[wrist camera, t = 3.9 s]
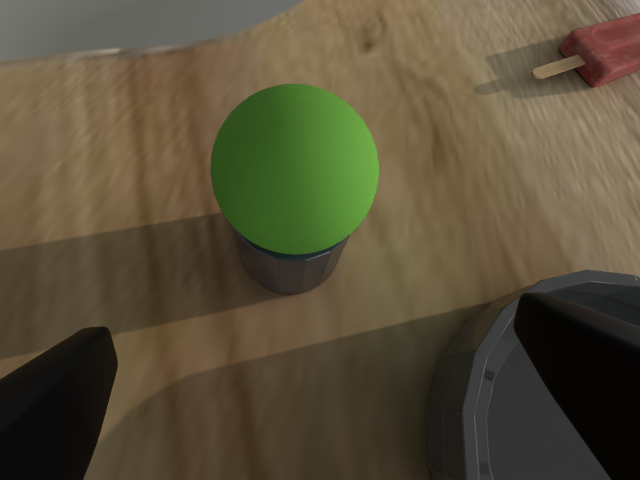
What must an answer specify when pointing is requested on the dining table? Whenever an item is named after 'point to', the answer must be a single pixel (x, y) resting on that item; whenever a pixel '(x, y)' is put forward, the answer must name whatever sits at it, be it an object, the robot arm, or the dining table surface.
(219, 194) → the ball
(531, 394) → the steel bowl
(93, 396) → the robot arm
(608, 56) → the popsicle
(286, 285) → the stand cup
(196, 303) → the dining table surface
